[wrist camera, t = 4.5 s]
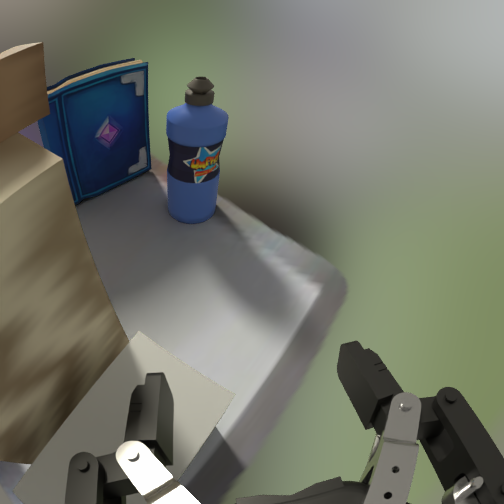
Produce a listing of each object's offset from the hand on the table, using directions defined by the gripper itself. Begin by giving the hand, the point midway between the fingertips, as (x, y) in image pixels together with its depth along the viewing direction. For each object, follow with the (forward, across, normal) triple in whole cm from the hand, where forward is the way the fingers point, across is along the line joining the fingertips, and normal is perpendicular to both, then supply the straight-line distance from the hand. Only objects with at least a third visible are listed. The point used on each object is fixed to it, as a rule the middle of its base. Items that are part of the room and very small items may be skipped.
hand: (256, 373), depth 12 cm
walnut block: (-4, -18, +10) cm, 21 cm away
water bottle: (+46, -5, -4) cm, 46 cm away
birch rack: (+14, -21, -17) cm, 31 cm away
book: (+51, -24, +3) cm, 56 cm away
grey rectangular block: (+8, -12, -22) cm, 26 cm away
